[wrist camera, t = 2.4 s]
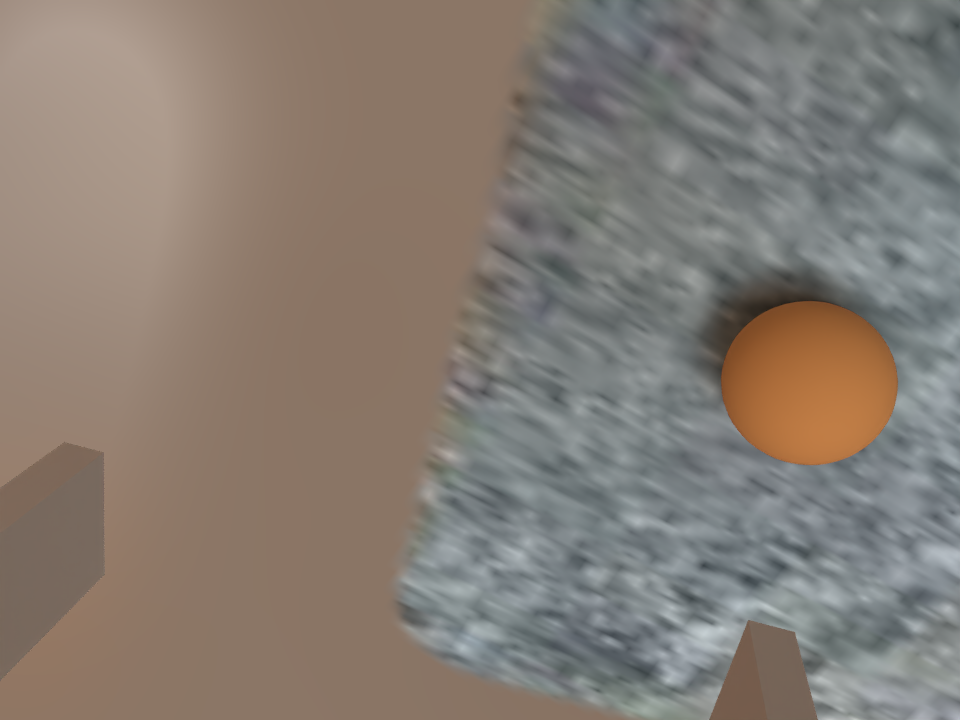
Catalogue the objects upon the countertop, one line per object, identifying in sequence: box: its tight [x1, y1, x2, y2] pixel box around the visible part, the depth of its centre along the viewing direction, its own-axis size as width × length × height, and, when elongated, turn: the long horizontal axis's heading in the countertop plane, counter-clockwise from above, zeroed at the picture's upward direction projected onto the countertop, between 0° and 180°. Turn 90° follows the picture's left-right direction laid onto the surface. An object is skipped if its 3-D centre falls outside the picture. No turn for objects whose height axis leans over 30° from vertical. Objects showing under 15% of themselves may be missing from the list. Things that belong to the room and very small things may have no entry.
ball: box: [721, 301, 898, 465], centre depth 28 cm, size 6×6×6 cm
